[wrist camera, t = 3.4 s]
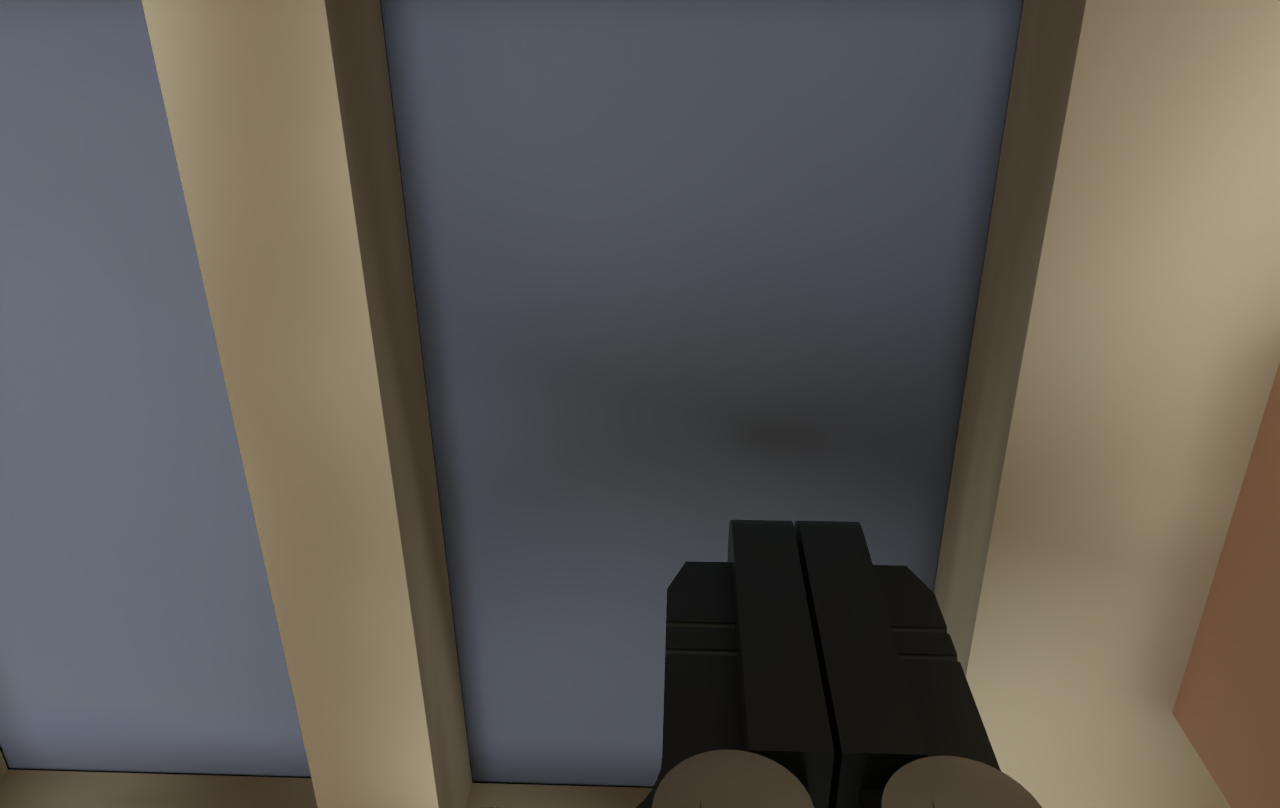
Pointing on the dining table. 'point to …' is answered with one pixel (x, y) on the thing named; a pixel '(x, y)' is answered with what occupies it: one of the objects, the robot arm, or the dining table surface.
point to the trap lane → (987, 436)
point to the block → (1242, 640)
